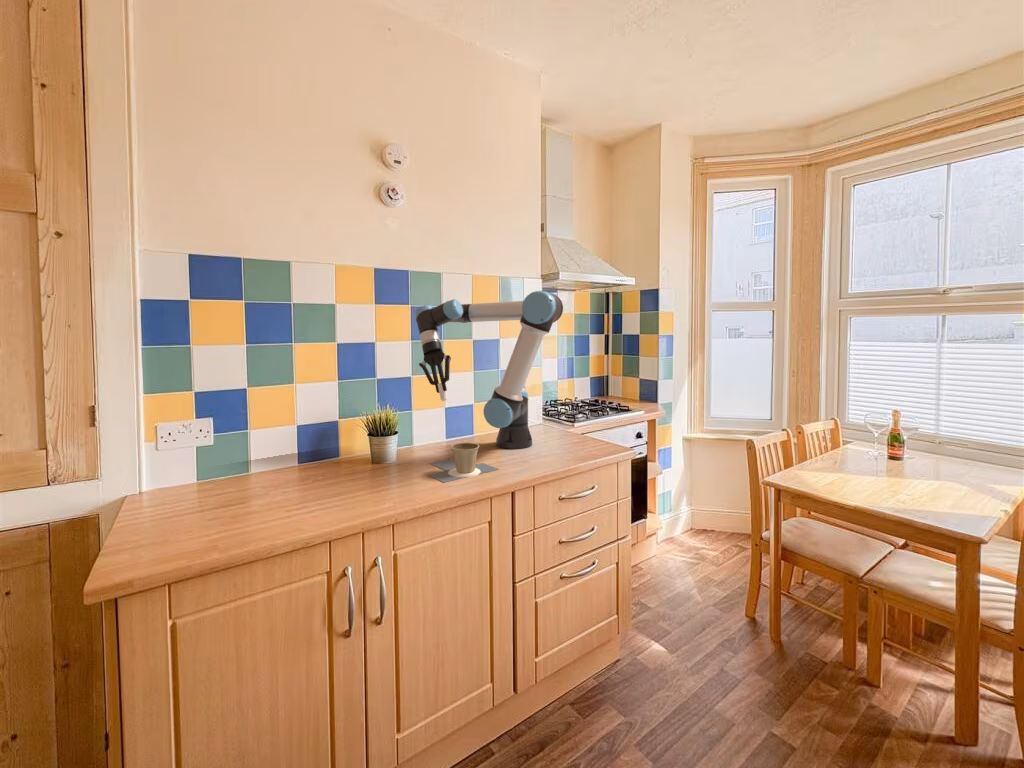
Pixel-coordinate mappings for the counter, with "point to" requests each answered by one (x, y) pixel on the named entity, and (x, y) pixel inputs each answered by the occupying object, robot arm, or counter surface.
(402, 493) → the counter surface
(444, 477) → the T mat
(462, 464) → the flower pot
